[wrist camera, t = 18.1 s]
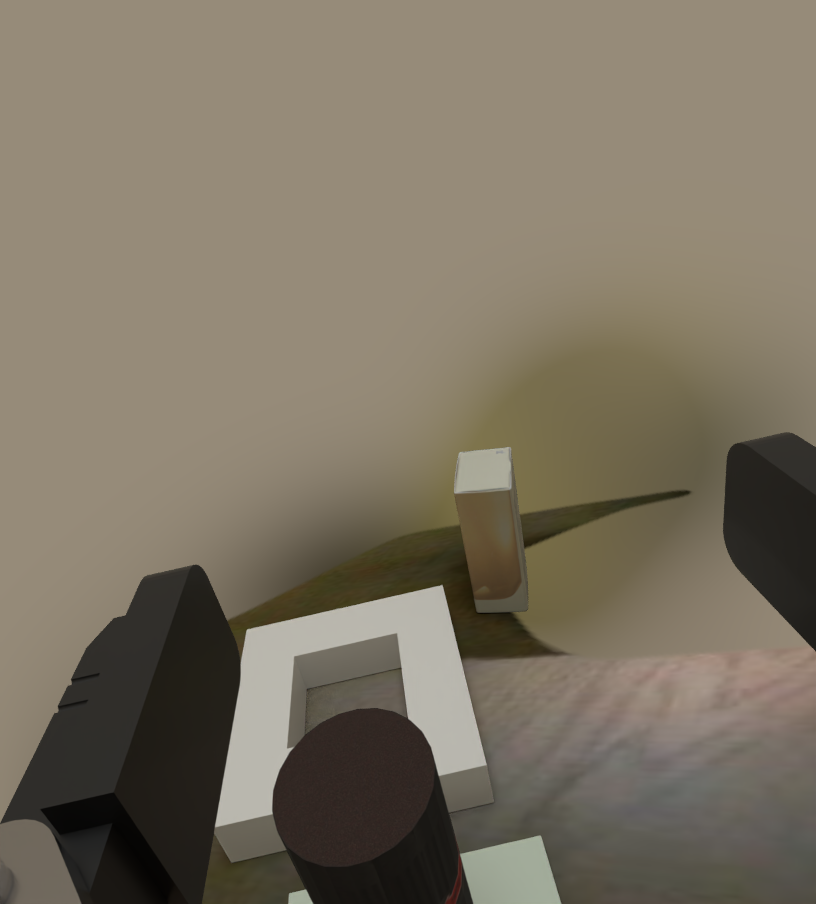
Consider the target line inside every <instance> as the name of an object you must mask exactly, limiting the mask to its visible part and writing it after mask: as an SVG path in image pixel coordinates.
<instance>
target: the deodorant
mask: <svg viewBox="0 0 816 904" xmlns="http://www.w3.org/2000/svg"><path fill="white" fill-rule="evenodd" d="M272 813H273V817H274V821H275V825H276V830H277V832H278V834H279V836H280V838H281V840H282V842H283V844H284V846H285V848H286V850H287V852H288V854H289V856H290V858H291V860H292V862H293V864H294V866H295V868H296V870H297V872H298V874H299V876H300V878H301V880H302V882H303V884H304V886H305V888H306V890H307V892H308V895H309V897H310V899H311V901H312V903H313V904H473V900H472V897H471V893H470V889H469V885H468V882H467V878H466V874H465V871H464V867H463V863H462V860H461V856H460V852H459V849H458V845H457V841H456V837H455V834H454V830H453V826H452V823H451V819H450V815H449V812H448V808H447V804H446V801H445V797H444V793H443V789H442V786H441V782H440V778H439V775H438V771H437V767H436V764H435V760H434V756H433V752H432V749H431V746H430V744H429V743H428V741H427V739H426V737H425V735H424V734H423V732H422V731H421V730H420V729H419V728H418V727H417V726H416V725H415V724H414V723H413V722H412V721H411V720H409V719H407V718H406V717H404V716H402V715H400V714H398V713H396V712H393V711H388V710H383V709H378V708H370V709H356V710H352V711H349V712H345V713H341V714H338V715H336V716H334V717H332V718H330V719H328V720H326V721H324V722H322V723H320V724H319V725H318V726H316V727H315V728H314V729H312V730H311V731H310V732H308V733H307V734H306V735H305V736H303V738H302V739H301V740H300V741H299V742H298V743H297V744H296V746H295V747H294V748H293V749H292V750H291V751H290V753H289V754H288V756H287V758H286V760H285V761H284V763H283V765H282V767H281V768H280V770H279V773H278V776H277V779H276V782H275V786H274V789H273V800H272Z"/></svg>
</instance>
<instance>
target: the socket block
mask: <svg viewBox="0 0 816 904" xmlns="http://www.w3.org/2000/svg"><path fill="white" fill-rule="evenodd" d="M401 667H402V675H403V683H404V690H405V698H406V706H407V714H408V719H409V720H411V721H412V722H413V723H414V724H415V725H416V726H417V727H418V728H419V729H420V730H421V731H422V732H423V734H424V735H425V737H426V739H427V741H428V743H429V744H430V746H431V749H432V752H433V756H434V760H435V764H436V767H437V771H438V775H439V778H440V782H441V786H442V789H443V793H444V797H445V801H446V804H447V808H448V812H449V813H450V812H455V811H459V810H463V809H468V808H472V807H476V806H481V805H485V804H489V803H494V798H493V793H492V788H491V784H490V779H489V774H488V769H487V765H486V761H485V757H484V753H483V748H482V744H481V740H480V736H479V732H478V728H477V724H476V720H475V716H474V712H473V708H472V704H471V700H470V696H469V691H468V687H467V683H466V679H465V675H464V671H463V667H462V663H461V659H460V655H459V651H458V647H457V643H456V639H455V634H454V630H453V626H452V622H451V618H450V614H449V610H448V606H447V602H446V598H445V594H444V590H443V586H437V587H433V588H428V589H424V590H420V591H415V592H411V593H406V594H402V595H398V596H393V597H389V598H384V599H380V600H376V601H371V602H367V603H362V604H358V605H354V606H349V607H345V608H340V609H336V610H332V611H327V612H323V613H318V614H314V615H310V616H305V617H301V618H296V619H292V620H288V621H283V622H279V623H274V624H270V625H266V626H261V627H257V628H252V629H248V630H247V632H246V638H245V644H244V649H243V655H242V660H241V680H240V687H239V692H238V698H237V704H236V710H235V715H234V721H233V727H232V732H231V738H230V744H229V750H228V755H227V761H226V767H225V773H224V778H223V784H222V790H221V795H220V801H219V807H218V813H217V818H216V824H215V830H214V834H215V835H216V837H217V839H218V841H219V842H220V844H221V846H222V848H223V849H224V851H225V853H226V854H227V856H228V858H229V860H230V861H231V863H233V862H237V861H242V860H246V859H250V858H255V857H259V856H263V855H268V854H272V853H276V852H281V851H285V850H286V848H285V846H284V844H283V842H282V840H281V838H280V836H279V834H278V832H277V830H276V825H275V821H274V817H273V813H272V800H273V789H274V786H275V782H276V779H277V776H278V773H279V770H280V768H281V767H282V765H283V763H284V761H285V760H286V758H287V756H288V754H289V753H290V751H291V750H292V749H293V748H294V747H295V746H296V744H297V743H298V742H299V741H300V740H301V739H302V738H303V736H305V716H306V696H307V689H309V688H314V687H318V686H323V685H327V684H331V683H336V682H340V681H345V680H349V679H353V678H358V677H362V676H366V675H371V674H375V673H380V672H384V671H388V670H393V669H397V668H401Z"/></svg>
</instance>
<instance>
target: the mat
mask: <svg viewBox="0 0 816 904" xmlns="http://www.w3.org/2000/svg"><path fill="white" fill-rule="evenodd" d="M460 856H461V860H462V863H463V867H464V871H465V874H466V878H467V882H468V885H469V889H470V893H471V897H472V900H473V904H561V902H560V898H559V895H558V892H557V888H556V885H555V882H554V878H553V875H552V872H551V868H550V865H549V861H548V858H547V855H546V851H545V848H544V845H543V841H542V838H541V836H536V837H532V838H528V839H523V840H519V841H515V842H510V843H506V844H502V845H497V846H493V847H489V848H484V849H480V850H476V851H471V852H467V853H463V854H460ZM289 904H313V903H312V901H311V899H310V897H309V895H308V892H307V890H302V891H298V892H293V893H289Z"/></svg>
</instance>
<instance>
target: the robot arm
mask: <svg viewBox="0 0 816 904" xmlns="http://www.w3.org/2000/svg"><path fill="white" fill-rule="evenodd" d="M723 534H724V540H725V544H726V548H727V550H728V553H729V555H730V557H731V559H732V561H733V563H734V564H735V566H736V567H737V569H738V570H739V571H740V572H741V573H742V574H743V575H744V576H745V577H746V578H747V580H748V581H750V583H752V585H753V586H754V587H755V588H756V589H757V590H758V591H759V592H760V593H761V594H762V595H763V596H764V597H765V598H766V599H767V600H768V602H769V603H770V604H771V605H772V606H773V607H774V608H775V609H776V610H777V611H778V612H779V613H780V614H781V615H782V616H783V617H784V618H785V620H787V622H788V623H789V624H790V625H791V626H792V627H793V628H794V629H795V630H796V631H797V632H798V633H799V634H800V635H801V636H802V637H803V638H804V639H805V640H806V642H807V643H808V644H809V645H810V646H811V647H812V648H813V649H814V650H815V651H816V447H814V446H813V445H811V444H810V443H808V442H806V441H804V440H803V439H802V438H800V437H798V436H797V435H795V434H793V433H781V434H776V435H772V436H767V437H763V438H759V439H755V440H750V441H746V442H741V443H737V444H734V445H733V446H732V447H731V448H730V450H729V452H728V456H727V465H726V485H725V504H724V523H723ZM240 680H241V665H240V657H239V651H238V647H237V644H236V641H235V638H234V636H233V633H232V631H231V629H230V627H229V624H228V622H227V620H226V618H225V615H224V613H223V611H222V609H221V606H220V604H219V602H218V599H217V597H216V595H215V593H214V590H213V588H212V586H211V584H210V581H209V579H208V577H207V575H206V573H205V571H204V570H203V569H202V568H201V567H200V566H199V565H192V566H187V567H183V568H179V569H174V570H169V571H165V572H161V573H156V574H152V575H147V576H145V577H144V578H143V579H142V581H141V582H140V584H139V586H138V589H137V591H136V593H135V595H134V598H133V600H132V602H131V605H130V607H129V609H128V611H127V613H126V616H122V617H117V618H114V619H113V620H112V621H111V622H110V623H109V624H108V625H107V626H106V627H105V628H104V630H103V631H102V632H101V633H100V634H99V635H98V636H97V637H96V638H95V639H94V640H93V641H92V643H91V644H90V645H89V646H88V647H87V648H86V650H85V652H84V654H83V656H82V658H81V660H80V662H79V664H78V666H77V668H76V670H75V672H74V674H73V677H72V679H71V681H72V685H70V686H68V687H67V689H66V691H65V693H64V695H63V697H62V699H61V701H60V703H59V705H58V709H59V711H58V713H55V714H54V715H53V717H52V719H51V721H50V723H49V725H48V727H47V729H46V731H45V733H44V735H43V737H42V740H41V741H40V743H39V746H38V748H37V750H36V752H35V754H34V756H33V758H32V760H31V762H30V764H29V766H28V768H27V770H26V772H25V774H24V776H23V778H22V780H21V782H20V784H19V786H18V788H17V790H16V792H15V794H14V796H13V798H12V800H11V802H10V805H9V806H8V808H7V811H6V813H5V815H4V817H3V819H2V821H1V823H0V904H202V898H203V893H204V887H205V881H206V876H207V870H208V864H209V858H210V853H211V847H212V841H213V835H214V830H215V824H216V818H217V813H218V807H219V801H220V795H221V790H222V784H223V778H224V773H225V767H226V761H227V755H228V750H229V744H230V738H231V732H232V727H233V721H234V715H235V710H236V704H237V698H238V692H239V687H240Z"/></svg>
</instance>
